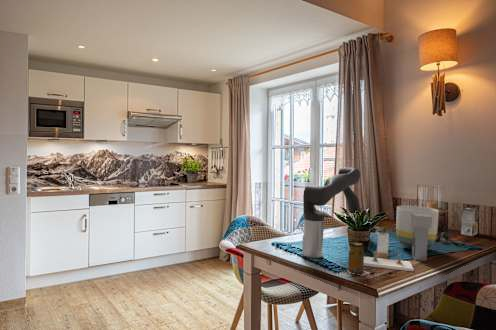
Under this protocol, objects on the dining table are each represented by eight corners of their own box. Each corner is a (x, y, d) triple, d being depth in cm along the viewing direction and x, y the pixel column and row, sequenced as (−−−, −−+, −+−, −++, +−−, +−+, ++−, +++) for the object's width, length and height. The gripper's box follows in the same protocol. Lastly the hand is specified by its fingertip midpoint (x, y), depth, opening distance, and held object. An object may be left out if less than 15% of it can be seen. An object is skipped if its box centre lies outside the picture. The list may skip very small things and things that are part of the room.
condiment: (351, 268, 149) (353, 240, 149) (370, 273, 143) (372, 244, 143) (343, 272, 144) (344, 243, 143) (363, 277, 138) (364, 248, 137)
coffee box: (466, 232, 224) (467, 207, 223) (477, 234, 219) (479, 209, 218) (460, 234, 218) (462, 208, 217) (472, 236, 213) (473, 210, 212)
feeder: (412, 260, 162) (415, 215, 161) (409, 254, 171) (411, 212, 170) (429, 262, 160) (431, 217, 159) (425, 256, 169) (427, 213, 168)
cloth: (415, 239, 203) (416, 229, 203) (439, 237, 210) (439, 227, 210) (450, 250, 183) (451, 238, 182) (474, 247, 189) (475, 236, 189)
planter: (432, 257, 167) (435, 213, 166) (390, 249, 179) (392, 208, 178) (439, 249, 182) (441, 208, 181) (400, 242, 194) (402, 204, 193)
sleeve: (377, 257, 165) (378, 234, 164) (376, 254, 169) (377, 232, 169) (387, 258, 163) (388, 235, 163) (386, 255, 168) (387, 233, 167)
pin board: (363, 265, 152) (364, 254, 152) (362, 258, 162) (363, 247, 162) (413, 271, 147) (414, 259, 147) (409, 264, 157) (409, 252, 156)
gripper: (352, 219, 193) (361, 226, 177) (377, 219, 193) (389, 226, 177) (351, 232, 194) (360, 240, 178) (377, 233, 194) (388, 241, 177)
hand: (374, 233), depth 177 cm, fingers open, 8 cm apart
